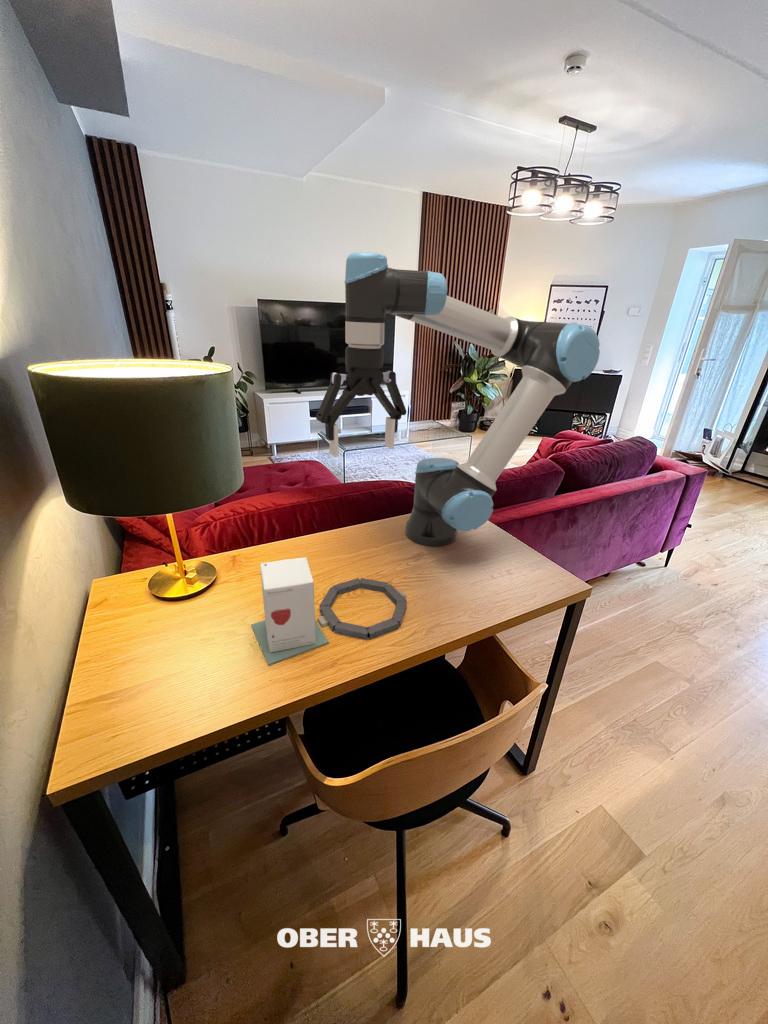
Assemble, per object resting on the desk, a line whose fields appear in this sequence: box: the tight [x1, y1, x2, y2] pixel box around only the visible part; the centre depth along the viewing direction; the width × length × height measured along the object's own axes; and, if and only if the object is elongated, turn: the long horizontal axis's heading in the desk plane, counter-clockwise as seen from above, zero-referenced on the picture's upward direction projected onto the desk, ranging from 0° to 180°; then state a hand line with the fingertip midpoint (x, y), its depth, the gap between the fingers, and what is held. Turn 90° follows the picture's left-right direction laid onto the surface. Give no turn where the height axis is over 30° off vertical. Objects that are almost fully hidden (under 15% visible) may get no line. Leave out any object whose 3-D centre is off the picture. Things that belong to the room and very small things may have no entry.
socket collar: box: [316, 577, 408, 641], centre depth 90 cm, size 21×18×2 cm
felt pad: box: [250, 619, 330, 667], centre depth 82 cm, size 12×12×1 cm
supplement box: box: [259, 556, 316, 653], centre depth 79 cm, size 9×9×15 cm
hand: (362, 450), depth 89 cm, fingers open, 13 cm apart
